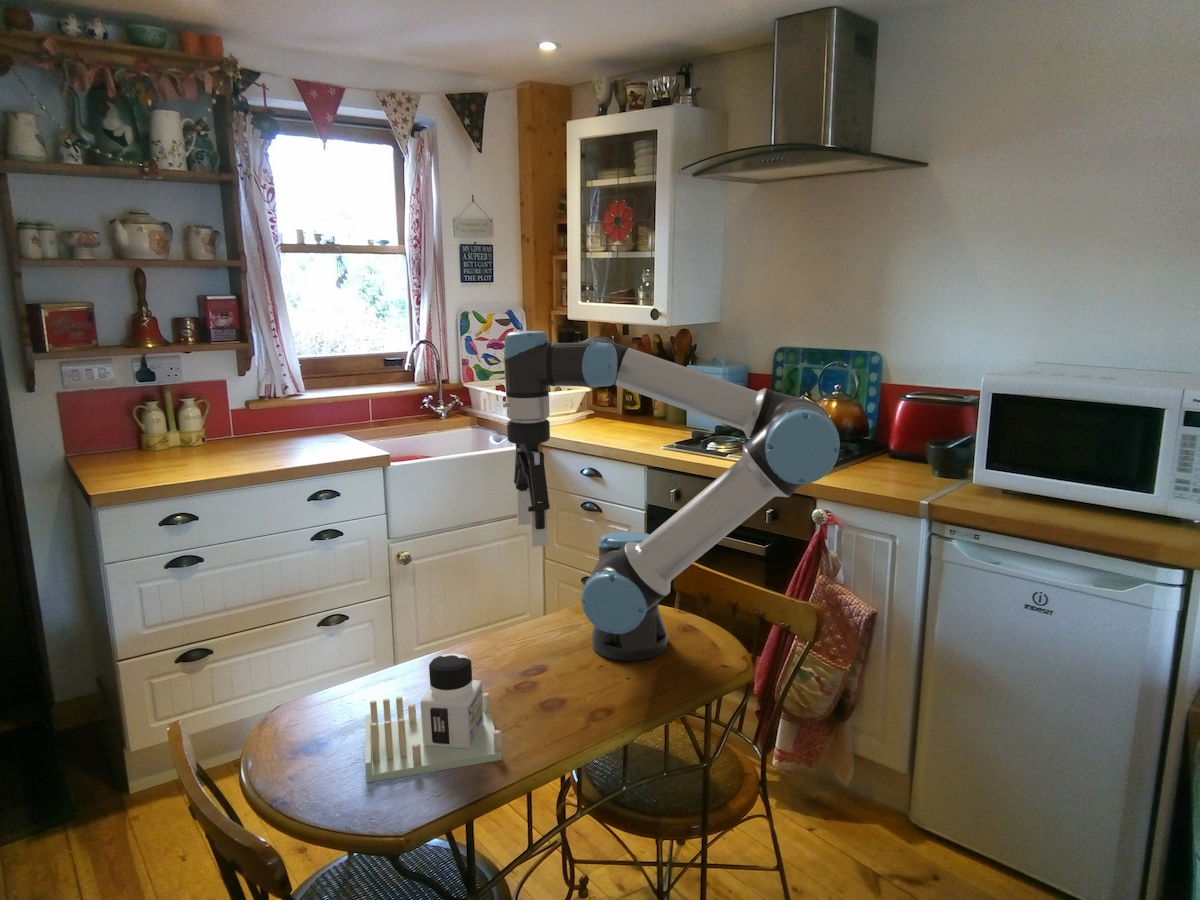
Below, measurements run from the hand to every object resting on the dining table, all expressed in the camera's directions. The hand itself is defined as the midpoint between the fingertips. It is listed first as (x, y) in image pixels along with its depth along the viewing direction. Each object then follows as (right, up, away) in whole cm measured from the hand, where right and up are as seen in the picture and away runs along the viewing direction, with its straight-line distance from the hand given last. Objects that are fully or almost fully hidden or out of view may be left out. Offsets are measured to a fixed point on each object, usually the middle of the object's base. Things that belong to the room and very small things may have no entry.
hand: (532, 534), depth 149 cm
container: (-11, -30, -18) cm, 37 cm away
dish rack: (-14, -32, -19) cm, 40 cm away
